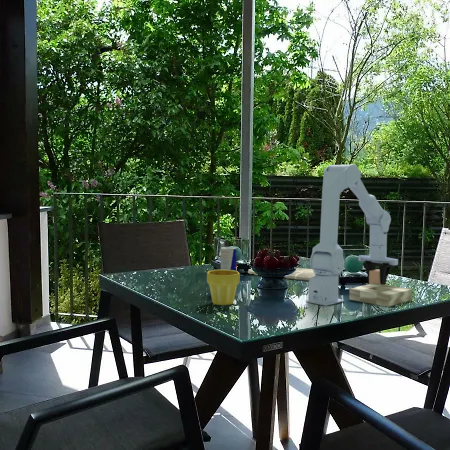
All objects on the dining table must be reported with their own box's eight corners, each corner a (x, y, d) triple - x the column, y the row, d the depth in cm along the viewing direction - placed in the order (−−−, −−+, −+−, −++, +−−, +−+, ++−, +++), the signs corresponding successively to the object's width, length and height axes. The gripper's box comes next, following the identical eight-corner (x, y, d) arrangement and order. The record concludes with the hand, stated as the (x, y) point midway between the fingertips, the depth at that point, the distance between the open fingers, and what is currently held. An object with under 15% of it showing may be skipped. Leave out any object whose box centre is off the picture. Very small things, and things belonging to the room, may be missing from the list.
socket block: (387, 306, 170) (388, 295, 169) (349, 299, 180) (349, 288, 180) (411, 299, 179) (412, 289, 179) (374, 293, 189) (374, 283, 189)
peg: (378, 292, 191) (379, 272, 191) (368, 290, 194) (369, 270, 194) (385, 290, 194) (385, 270, 194) (375, 288, 197) (375, 269, 196)
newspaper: (232, 274, 231) (232, 267, 231) (255, 268, 247) (255, 261, 247) (313, 283, 211) (313, 275, 211) (334, 275, 227) (334, 268, 227)
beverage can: (235, 291, 193) (235, 248, 192) (219, 291, 194) (219, 248, 193) (237, 288, 198) (237, 246, 197) (222, 288, 200) (222, 246, 198)
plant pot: (245, 304, 174) (245, 273, 173) (216, 308, 169) (216, 276, 168) (230, 298, 183) (229, 268, 182) (201, 301, 178) (201, 271, 177)
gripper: (403, 245, 190) (402, 285, 191) (366, 242, 201) (366, 279, 202) (391, 247, 185) (391, 287, 187) (355, 243, 196) (354, 281, 197)
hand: (377, 283), depth 194 cm, fingers closed on peg, 4 cm apart
